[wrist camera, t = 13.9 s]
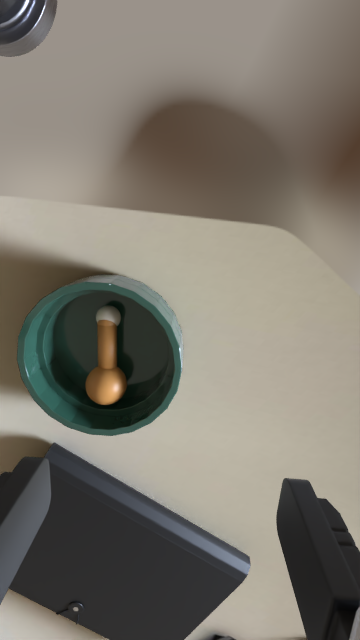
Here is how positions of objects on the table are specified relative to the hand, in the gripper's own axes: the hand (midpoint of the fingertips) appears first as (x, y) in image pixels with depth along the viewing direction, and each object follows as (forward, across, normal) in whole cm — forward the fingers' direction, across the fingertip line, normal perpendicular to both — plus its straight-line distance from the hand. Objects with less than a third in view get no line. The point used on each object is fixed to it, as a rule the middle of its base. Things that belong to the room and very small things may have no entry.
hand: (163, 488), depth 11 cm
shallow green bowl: (+28, +9, +6) cm, 30 cm away
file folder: (+28, +8, +39) cm, 49 cm away
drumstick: (+27, +8, +6) cm, 29 cm away
